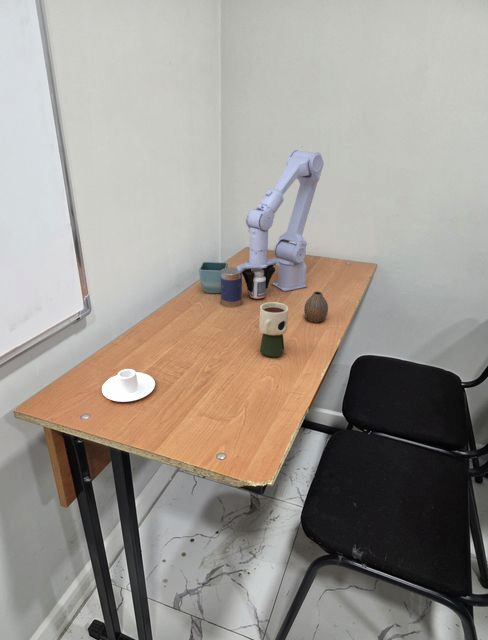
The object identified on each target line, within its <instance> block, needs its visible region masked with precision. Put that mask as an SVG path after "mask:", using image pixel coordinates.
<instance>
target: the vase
mask: <svg viewBox="0 0 488 640" xmlns="http://www.w3.org/2000/svg"><path fill="white" fill-rule="evenodd" d="M303 311H304V316H305V318H306V320H308V321H309V322H310V323H314V324H318V323H322V322H323V321H324V320H325V319H326V318H327V315H328V313H329V305H328V302H327V299H326V298H325V297H324V296H323V293H322V292H321V291H317V290H316V291H313V293H312V294H311V296H309V298H308V299H307V300H306V302H305V304H304V309H303Z"/></svg>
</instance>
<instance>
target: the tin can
mask: <svg viewBox="0 0 488 640" xmlns="http://www.w3.org/2000/svg"><path fill="white" fill-rule="evenodd" d="M242 289H243V274H242V271H239V270H237V267H233V266H231V267H230V266H229V267H227V268H224V269H222V270H221V293H220V299H221V300H220V304H221V306H224V307H226V308H235V307H240V306H241V305H242V298H243V293H242V292H243V290H242Z"/></svg>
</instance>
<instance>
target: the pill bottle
mask: <svg viewBox="0 0 488 640" xmlns="http://www.w3.org/2000/svg"><path fill="white" fill-rule="evenodd" d="M251 271H252V272H253V273H254V274H255V275H254V279H253V290H252V292H250V291H249V297H250V298H252V299H255V300H256V299H264V298H265V297H266V290H267V289H266V278H265V276H263V275H264V270H263V269H262V268H257V269H252V270H251Z"/></svg>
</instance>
